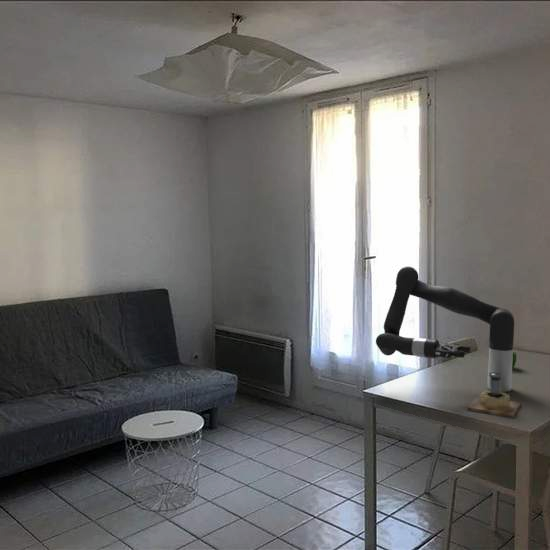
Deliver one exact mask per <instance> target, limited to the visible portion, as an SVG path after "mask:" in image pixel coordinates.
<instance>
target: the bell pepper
mask: <svg viewBox="0 0 550 550" xmlns="http://www.w3.org/2000/svg"><path fill="white" fill-rule="evenodd" d="M516 362H517V353H516V352H515V351H513V359H512V370H513V369H514V368H515V366H516Z"/></svg>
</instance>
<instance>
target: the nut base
mask: <svg viewBox="0 0 550 550" xmlns="http://www.w3.org/2000/svg"><path fill="white" fill-rule="evenodd" d="M521 406H522V402H518V401H517V402H516V401H512V400H510V394H509V393H506V392H500V397H492V396H490V390H486V391H485V390H484V391H482V392H481V393H480V395H477V396H476V398H475V399H474V400H473V401H472V402H471V403H470V404H469V405H468V406H467V410H468V411H471V410H472V411H471V412H477V411H478V412H477V413H482V412H484V414H488V413H489V415H495V416H501V417H505V418H512V419H513V418H514V417H515V416H516V414H517V412H518V411H519V409H520V408H521Z"/></svg>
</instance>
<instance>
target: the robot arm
mask: <svg viewBox="0 0 550 550" xmlns="http://www.w3.org/2000/svg"><path fill="white" fill-rule="evenodd" d="M395 285H396V286H395V287H396V288H395V291H394V294H393V297H392V300H391V303H390V306H389V308H388V311H387V314H386V317H385V320H384V322H383V329H384V333H380V334H379V335H377V337H376V338H375V344H376V347H377V348H378V349H379V351H380V352H381V353H382V354H383V355H385V356H387V357H388V356H392V355H394V353H395V352H399V353H400V354H402V355H405V356H414V357H419V358H424V359H425V358H426V359H434V360H435V359H438V358H447V359H451V358H454V357H456V358H465V355H466V354H467V353H468V354H469V353H470V352H471V347H470V346H463V345H461V344H460V343H447V342H445V343H444V344H440V341H439V340H438V339H433V338H423V337H418V338H417V337H415V338H414V337H404V336H401V335H400V331H401V328H402V325H403V321H404V318H405V314H406V311H407V305H408V302H409V299H410V296H412V297H417V298H420V299H422V300H425V301H427V302H429V303H431V304H434V305H437V306H439V307H441V308H443V309H445V310H447V311H449V312H451V313H455V314H458V315H461V316H467V317H471V318H475V319H478V320H480V321H482V322H484V323H486V324H488V325H489V338H488V339H489V345H488V347H489V349H488V364H487V378H486V379H487V381H486V382H487V383H486V386H487V389H489V390H490V379H491V377H489V373H491V372H496V373H501V374H503V378H501V385H500V392H504V393H506V392H510V391H512V379H513V377H512V376H513V369H512V359H513V352H514V342H515V341H514V340H515V339H514V336H515V318H514V315H513V313H512V312H510V310H508V309H506V308H502V307H500V306H495V305H492V304H488V303H486V302H485V301H481V300H479V299H478V298H476V297H474V296H473V295H469V294H467V293H465V292H463V291H460V290H457V289H456V288H453V287H450V286H445V285H444V286H442V285H433V284H428V283H426V282H423V281H422V280H420V279H419V273H418V271H417V269H415V268H414V267H412V266H404V267H401V268H400V269H399V271H398V272H397V274H396V278H395Z"/></svg>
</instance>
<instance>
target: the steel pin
mask: <svg viewBox="0 0 550 550" xmlns="http://www.w3.org/2000/svg"><path fill="white" fill-rule="evenodd" d="M489 377H491V379H490V389H489V391H490V396H492V397H500V385H501V378H503V374H501V373H496V372H491V373H489Z"/></svg>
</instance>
